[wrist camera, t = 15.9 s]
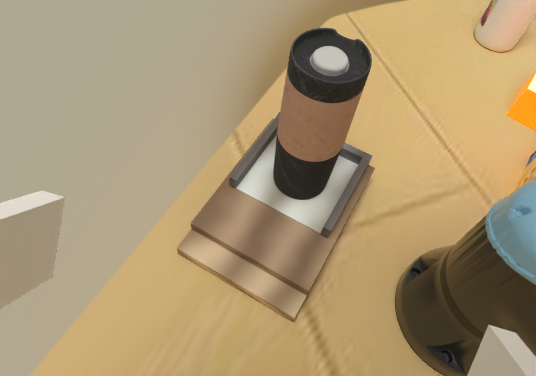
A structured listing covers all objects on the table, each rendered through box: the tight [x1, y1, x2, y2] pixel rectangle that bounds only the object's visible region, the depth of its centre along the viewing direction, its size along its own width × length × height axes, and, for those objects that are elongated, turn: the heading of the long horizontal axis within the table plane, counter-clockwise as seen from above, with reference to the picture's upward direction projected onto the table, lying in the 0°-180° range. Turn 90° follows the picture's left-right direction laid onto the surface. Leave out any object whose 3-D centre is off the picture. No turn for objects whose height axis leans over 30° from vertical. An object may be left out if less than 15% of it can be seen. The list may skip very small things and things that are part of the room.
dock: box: [177, 112, 375, 321], centre depth 53 cm, size 16×23×5 cm
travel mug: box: [273, 28, 372, 200], centre depth 46 cm, size 8×8×20 cm
